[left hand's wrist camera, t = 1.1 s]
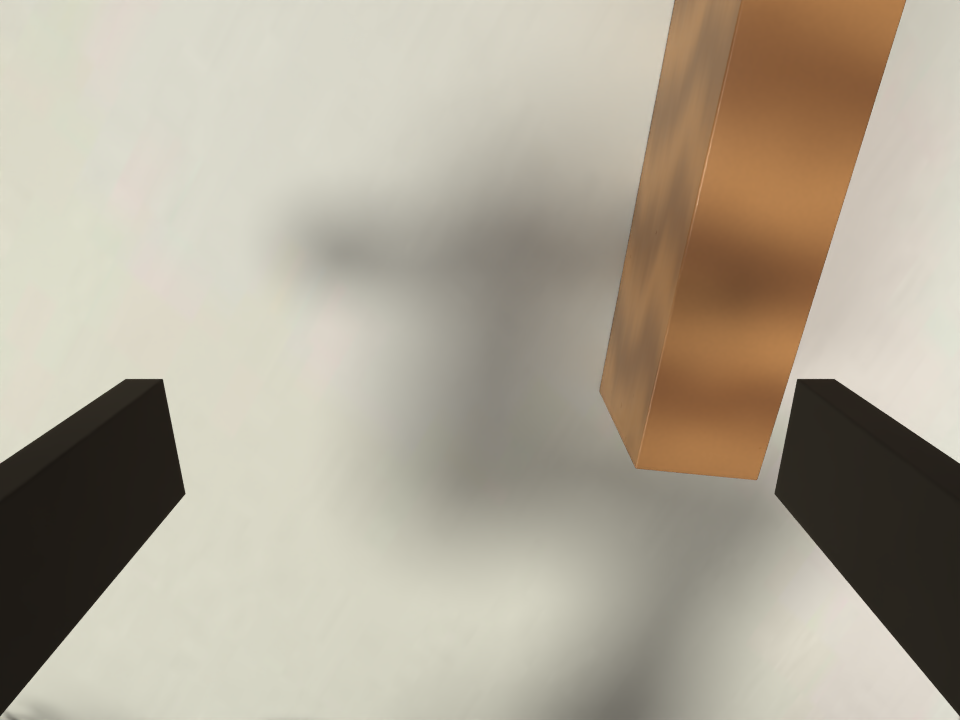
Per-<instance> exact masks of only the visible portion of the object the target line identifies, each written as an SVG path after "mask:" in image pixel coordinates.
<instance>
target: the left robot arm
mask: <svg viewBox="0 0 960 720" xmlns="http://www.w3.org/2000/svg"><path fill="white" fill-rule="evenodd" d="M184 495H185V489H184V484H183V479H182V474H181V469H180V464H179V459H178V454H177V449H176V444H175V439H174V434H173V429H172V424H171V418H170V413H169V408H168V403H167V398H166V393H165V388H164V383H163V379H125V380H124V381H122V382H121V383H119V384H118V385H116V386H115V387H113V388H112V389H110V390H109V391H107V392H106V393H104V394H103V395H101V396H100V397H98V398H97V399H95V400H94V401H92V402H91V403H90V404H88V405H87V406H85V407H84V408H82V409H81V410H79V411H78V412H76V413H75V414H73V415H72V416H70V417H69V418H67V419H66V420H64V421H63V422H61V423H60V424H58V425H57V426H55V427H54V428H52V429H51V430H49V431H48V432H46V433H45V434H44V435H42V436H41V437H39V438H38V439H36V440H35V441H33V442H32V443H30V444H29V445H27V446H26V447H24V448H23V449H21V450H20V451H18V452H17V453H15V454H14V455H12V456H11V457H9V458H8V459H6V460H5V461H3V462H2V463H0V716H1V715H2V713H3V712H4V711H5V710H6V709H7V707H8V706H9V705H10V704H11V703H12V701H13V700H14V699H15V698H16V697H17V695H18V694H19V693H20V692H21V691H22V689H23V688H24V687H25V686H26V685H27V683H28V682H29V681H30V680H31V679H32V677H33V676H34V675H35V674H36V673H37V671H38V670H39V669H40V668H41V667H42V665H43V664H44V663H45V662H46V661H47V659H48V658H49V657H50V656H51V655H52V653H53V652H54V651H55V650H56V649H57V647H58V646H59V645H60V644H61V643H62V641H63V640H64V639H65V638H66V637H67V635H68V634H69V633H70V632H71V631H72V629H73V628H74V627H75V626H76V625H77V623H78V622H79V621H80V620H81V619H82V617H83V616H84V615H85V614H86V613H87V611H88V610H89V609H90V608H91V607H92V605H93V604H94V603H95V602H96V601H97V599H98V598H99V597H100V596H101V595H102V593H103V592H104V591H105V590H106V589H107V587H108V586H109V585H110V584H111V583H112V581H113V580H114V579H115V578H116V577H117V575H118V574H119V573H120V572H121V571H122V569H123V568H124V567H125V566H126V565H127V563H128V562H129V561H130V560H131V559H132V557H133V556H134V555H135V554H136V553H137V551H138V550H139V549H140V548H141V547H142V545H143V544H144V543H145V542H146V541H147V539H148V538H149V537H150V536H151V535H152V533H153V532H154V531H155V530H156V529H157V527H158V526H159V525H160V524H161V523H162V521H163V520H164V519H165V518H166V517H167V515H168V514H169V513H170V512H171V511H172V509H173V508H174V507H175V506H176V505H177V503H178V502H179V501H180V500H181V499H182V497H183V496H184ZM775 495H776V496H777V497H778V499H779V500H780V501H781V502H782V503H783V505H784V506H785V507H786V508H787V509H788V511H789V512H790V513H791V514H792V515H793V517H794V518H795V519H796V520H797V521H798V523H799V524H800V525H801V526H802V527H803V529H804V530H805V531H806V532H807V533H808V535H809V536H810V537H811V538H812V539H813V541H814V542H815V543H816V544H817V545H818V547H819V548H820V549H821V550H822V551H823V553H824V554H825V555H826V556H827V557H828V559H829V560H830V561H831V562H832V563H833V565H834V566H835V567H836V568H837V569H838V571H839V572H840V573H841V574H842V575H843V577H844V578H845V579H846V580H847V581H848V583H849V584H850V585H851V586H852V587H853V589H854V590H855V591H856V592H857V593H858V595H859V596H860V597H861V598H862V599H863V601H864V602H865V603H866V604H867V605H868V607H869V608H870V609H871V610H872V611H873V613H874V614H875V615H876V616H877V617H878V619H879V620H880V621H881V622H882V623H883V625H884V626H885V627H886V628H887V629H888V631H889V632H890V633H891V634H892V635H893V637H894V638H895V639H896V640H897V641H898V643H899V644H900V645H901V646H902V647H903V649H904V650H905V651H906V652H907V653H908V655H909V656H910V657H911V658H912V659H913V661H914V662H915V663H916V664H917V665H918V667H919V668H920V669H921V670H922V671H923V673H924V674H925V675H926V676H927V677H928V679H929V680H930V681H931V682H932V683H933V685H934V686H935V687H936V688H937V689H938V691H939V692H940V693H941V694H942V695H943V697H944V698H945V699H946V700H947V701H948V703H949V704H950V705H951V706H952V707H953V709H954V710H955V711H956V712H957V713H958V715H959V716H960V463H958V462H957V461H955V460H954V459H952V458H951V457H949V456H948V455H946V454H945V453H943V452H942V451H940V450H939V449H937V448H936V447H934V446H933V445H931V444H930V443H928V442H927V441H925V440H924V439H922V438H921V437H919V436H918V435H916V434H915V433H914V432H912V431H911V430H909V429H908V428H906V427H905V426H903V425H902V424H900V423H899V422H897V421H896V420H894V419H893V418H891V417H890V416H888V415H887V414H885V413H884V412H882V411H881V410H879V409H878V408H876V407H875V406H873V405H872V404H870V403H869V402H868V401H866V400H865V399H863V398H862V397H860V396H859V395H857V394H856V393H854V392H853V391H851V390H850V389H848V388H847V387H845V386H844V385H842V384H841V383H839V382H838V381H836V380H835V379H797V383H796V388H795V393H794V398H793V403H792V408H791V413H790V418H789V424H788V429H787V434H786V439H785V444H784V449H783V454H782V459H781V464H780V469H779V474H778V479H777V484H776V489H775Z"/></svg>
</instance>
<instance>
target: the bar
mask: <svg viewBox="0 0 960 720" xmlns="http://www.w3.org/2000/svg"><path fill="white" fill-rule="evenodd" d="M905 2H906V0H675V4H674V9H673V14H672V19H671V25H670V30H669V35H668V40H667V45H666V50H665V56H664V61H663V66H662V71H661V76H660V81H659V87H658V92H657V97H656V102H655V107H654V112H653V118H652V123H651V128H650V133H649V138H648V143H647V149H646V154H645V159H644V164H643V169H642V174H641V180H640V185H639V190H638V195H637V200H636V205H635V211H634V216H633V221H632V226H631V231H630V236H629V242H628V247H627V252H626V257H625V262H624V267H623V273H622V278H621V283H620V288H619V293H618V298H617V304H616V309H615V314H614V319H613V324H612V329H611V335H610V340H609V345H608V350H607V355H606V360H605V366H604V371H603V376H602V381H601V386H600V394H601V396H602V398H603V400H604V402H605V404H606V407H607V409H608V411H609V413H610V415H611V417H612V419H613V421H614V424H615V426H616V428H617V430H618V432H619V434H620V436H621V438H622V441H623V443H624V445H625V447H626V449H627V451H628V453H629V455H630V458H631V460H632V462H633V464H634V466H635V468H637V469H646V470H657V471H667V472H678V473H688V474H698V475H709V476H719V477H730V478H740V479H750V480H757V479H758V475H759V472H760V469H761V466H762V463H763V459H764V456H765V453H766V450H767V446H768V443H769V440H770V437H771V434H772V430H773V427H774V424H775V421H776V417H777V414H778V411H779V408H780V405H781V401H782V398H783V395H784V392H785V389H786V385H787V382H788V379H789V376H790V372H791V369H792V366H793V363H794V360H795V356H796V353H797V350H798V347H799V343H800V340H801V337H802V334H803V331H804V327H805V324H806V321H807V318H808V314H809V311H810V308H811V305H812V302H813V298H814V295H815V292H816V289H817V285H818V282H819V279H820V276H821V273H822V269H823V266H824V263H825V260H826V257H827V253H828V250H829V247H830V244H831V240H832V237H833V234H834V231H835V228H836V224H837V221H838V218H839V215H840V211H841V208H842V205H843V202H844V199H845V195H846V192H847V189H848V186H849V182H850V179H851V176H852V173H853V170H854V166H855V163H856V160H857V157H858V153H859V150H860V147H861V144H862V141H863V137H864V134H865V131H866V128H867V125H868V121H869V118H870V115H871V112H872V108H873V105H874V102H875V99H876V96H877V92H878V89H879V86H880V83H881V79H882V76H883V73H884V70H885V67H886V63H887V60H888V57H889V54H890V50H891V47H892V44H893V41H894V38H895V34H896V31H897V28H898V25H899V21H900V18H901V15H902V12H903V9H904V5H905Z"/></svg>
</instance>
